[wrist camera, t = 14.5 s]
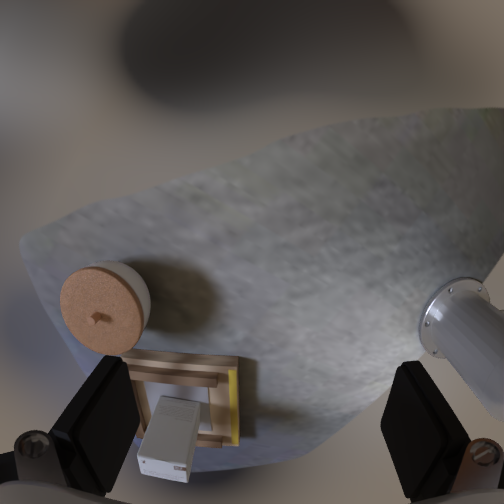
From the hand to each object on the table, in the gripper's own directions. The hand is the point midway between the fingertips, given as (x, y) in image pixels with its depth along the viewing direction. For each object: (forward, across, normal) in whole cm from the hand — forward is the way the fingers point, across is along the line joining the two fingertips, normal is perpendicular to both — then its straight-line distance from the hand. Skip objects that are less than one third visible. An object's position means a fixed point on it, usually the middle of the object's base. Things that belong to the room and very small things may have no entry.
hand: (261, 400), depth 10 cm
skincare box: (+26, +11, +25) cm, 38 cm away
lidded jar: (+29, +18, +8) cm, 35 cm away
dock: (+28, +11, +25) cm, 39 cm away
